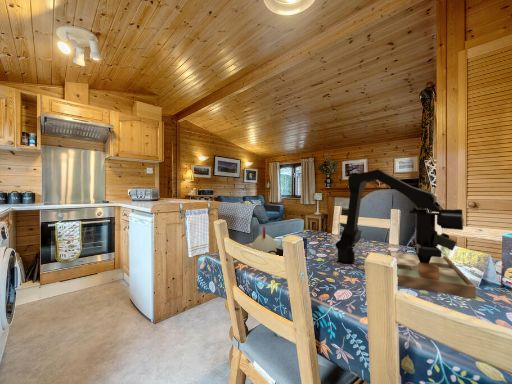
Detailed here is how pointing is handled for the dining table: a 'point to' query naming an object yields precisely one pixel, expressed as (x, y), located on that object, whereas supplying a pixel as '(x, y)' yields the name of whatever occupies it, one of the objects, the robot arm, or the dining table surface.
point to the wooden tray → (447, 283)
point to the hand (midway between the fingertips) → (424, 269)
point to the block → (428, 271)
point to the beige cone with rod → (264, 243)
